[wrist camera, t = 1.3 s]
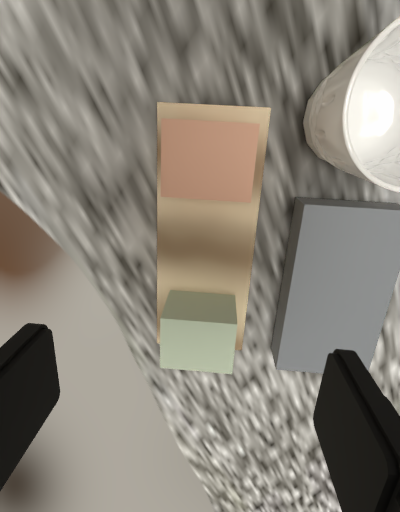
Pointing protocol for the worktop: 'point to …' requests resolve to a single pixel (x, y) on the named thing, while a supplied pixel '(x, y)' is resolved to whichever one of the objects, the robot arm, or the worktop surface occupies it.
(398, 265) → the dock
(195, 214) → the long beige board
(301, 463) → the worktop surface
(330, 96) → the white cup
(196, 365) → the pale green block
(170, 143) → the salmon square box
